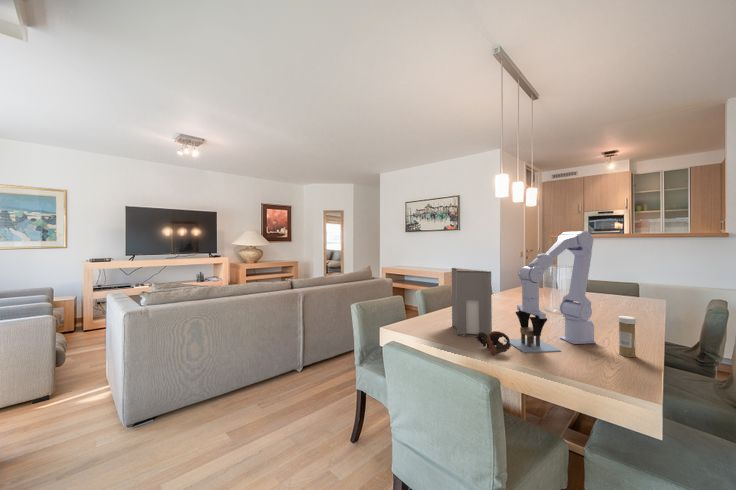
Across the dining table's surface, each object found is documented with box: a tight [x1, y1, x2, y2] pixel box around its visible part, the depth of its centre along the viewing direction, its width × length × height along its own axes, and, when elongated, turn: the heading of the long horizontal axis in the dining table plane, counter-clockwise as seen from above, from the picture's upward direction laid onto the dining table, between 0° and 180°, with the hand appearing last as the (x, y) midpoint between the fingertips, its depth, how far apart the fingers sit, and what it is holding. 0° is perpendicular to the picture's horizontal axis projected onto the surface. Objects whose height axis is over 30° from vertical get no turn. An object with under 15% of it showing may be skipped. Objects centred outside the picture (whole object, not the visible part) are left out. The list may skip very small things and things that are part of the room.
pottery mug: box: [476, 330, 512, 356], centre depth 110 cm, size 12×10×8 cm
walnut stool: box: [519, 326, 542, 347], centre depth 115 cm, size 5×5×6 cm
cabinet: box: [451, 267, 493, 338], centre depth 131 cm, size 21×10×28 cm, turn 30°
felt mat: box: [503, 337, 562, 354], centre depth 115 cm, size 14×14×1 cm
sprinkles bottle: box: [617, 315, 637, 358], centre depth 104 cm, size 5×5×14 cm
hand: (530, 332), depth 115 cm, fingers open, 7 cm apart
